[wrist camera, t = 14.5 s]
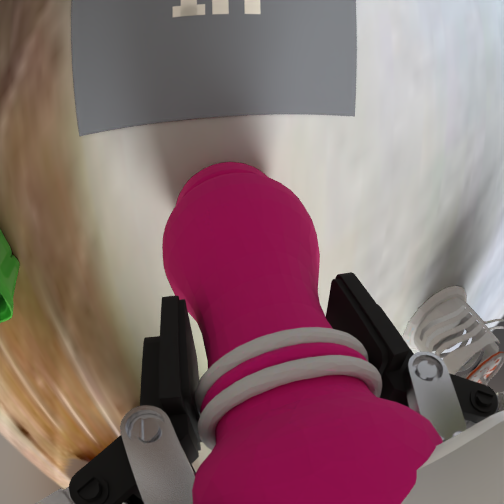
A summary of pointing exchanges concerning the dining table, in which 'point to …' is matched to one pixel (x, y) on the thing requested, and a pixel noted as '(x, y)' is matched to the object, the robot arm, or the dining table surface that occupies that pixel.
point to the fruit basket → (7, 279)
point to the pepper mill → (279, 357)
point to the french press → (455, 334)
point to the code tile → (210, 59)
